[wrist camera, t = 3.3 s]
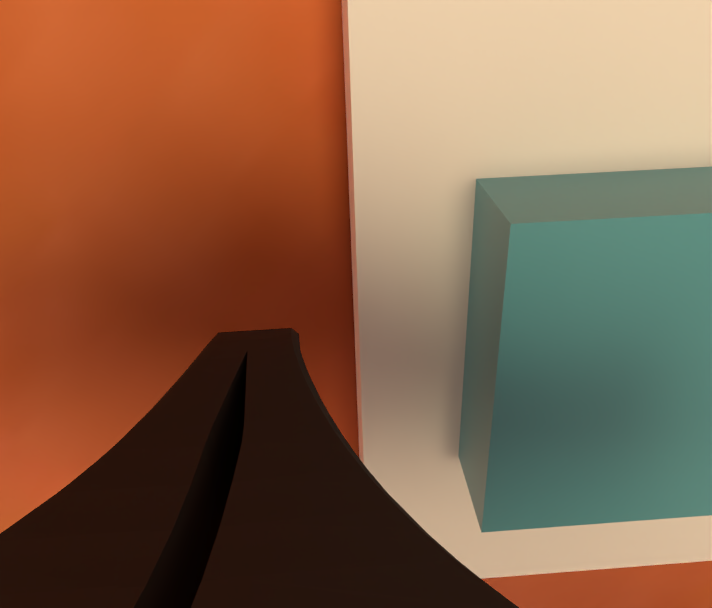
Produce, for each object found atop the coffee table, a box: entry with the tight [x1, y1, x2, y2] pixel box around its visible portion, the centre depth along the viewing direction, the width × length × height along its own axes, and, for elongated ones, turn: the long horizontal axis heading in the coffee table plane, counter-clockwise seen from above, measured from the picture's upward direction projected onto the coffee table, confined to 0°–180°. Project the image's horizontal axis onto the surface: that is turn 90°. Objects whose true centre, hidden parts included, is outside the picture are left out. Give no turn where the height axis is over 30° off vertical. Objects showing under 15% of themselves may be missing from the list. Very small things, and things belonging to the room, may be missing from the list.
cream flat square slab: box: [342, 0, 712, 579], centre depth 13 cm, size 14×14×2 cm
